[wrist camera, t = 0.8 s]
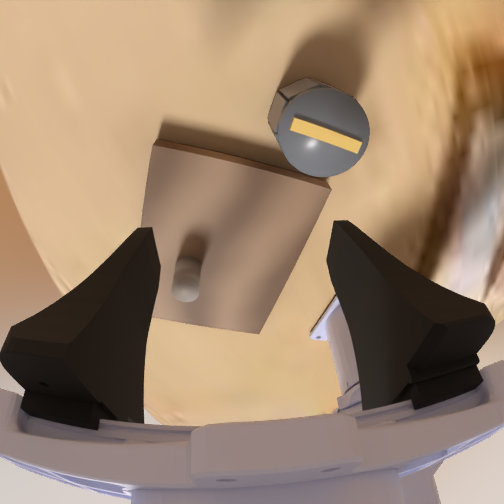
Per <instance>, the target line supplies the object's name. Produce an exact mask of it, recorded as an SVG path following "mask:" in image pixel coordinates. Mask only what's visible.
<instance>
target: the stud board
mask: <svg viewBox="0 0 504 504" xmlns="http://www.w3.org/2000/svg"><path fill="white" fill-rule="evenodd" d="M331 190H332V189H331V188H330V186H329V184H328V183H327V182H326V181H322V180H319V179H316V178H313V177H309V176H306V175H303V174H299V173H296V172H292V171H289V170H285V169H282V168H278V167H275V166H271V165H267V164H263V163H260V162H256V161H252V160H248V159H244V158H240V157H236V156H232V155H228V154H224V153H219V152H215V151H211V150H206V149H202V148H197V147H192V146H188V145H183V144H178V143H173V142H168V141H163V140H156V141H155V143H154V144H153V146H152V152H151V158H150V164H149V170H148V177H147V183H146V190H145V198H144V205H143V213H142V222H141V228H142V227H152V228H153V233H154V238H155V242H156V247H157V251H158V256H159V260H160V264H161V272H160V281H159V289H158V293H157V297H156V301H155V306H154V310H153V314H152V317H153V318H159V319H164V320H169V321H175V322H181V323H186V324H192V325H198V326H205V327H211V328H218V329H224V330H231V331H239V332H246V333H254V334H259V333H260V331H261V330H262V328H263V326H264V324H265V322H266V320H267V318H268V316H269V315H270V313H271V311H272V309H273V307H274V305H275V303H276V301H277V299H278V297H279V295H280V293H281V292H282V290H283V288H284V286H285V284H286V282H287V280H288V278H289V276H290V274H291V272H292V270H293V268H294V266H295V264H296V262H297V260H298V258H299V256H300V254H301V252H302V250H303V248H304V246H305V244H306V242H307V240H308V238H309V236H310V234H311V232H312V230H313V228H314V226H315V224H316V221H317V219H318V217H319V215H320V213H321V211H322V209H323V207H324V205H325V203H326V201H327V198H328V196H329V194H330V192H331Z"/></svg>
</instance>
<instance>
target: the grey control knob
mask: <svg viewBox="0 0 504 504" xmlns="http://www.w3.org/2000/svg"><path fill="white" fill-rule="evenodd" d="M279 91H280V93H278V92H276V95H275V98H274V101H273V104H272V107H271V109H270V112H269V115H268V120H269V121H268V123H269V125H270V127H271V129H272V132H273V134H274V136H275V138H276V139H277V141H278V143H279V145H280V147H281V149H282V151H283V153H284V155H285V157H286V158H287V160H288V162H289V163H291V165H293V166H294V167H295V168H296V169H298V170H299V171H301V172H303V173H305V174H308V175H311V176H315V177H330V176H335V175H338V174H341V173H343V172H345V171H347V170H348V169H350V168H351V167H353V166H354V165H355V164H356V163H357V162H358V161H359V160H360V158H361V157H362V155H363V154H364V152H365V150H366V148H367V145H368V141H369V135H370V128H369V122H368V118H367V116H366V114H365V112H364V110H363V108H362V107H361V106H360V104H359V103H358V102H357V101H356V99H354V98H353V96H351V95H349V94H347V93H345V92H343V91H341V90H339V89H337V88H334V87H332V86H329V85H327V84H324V83H322V82H319V81H317V80H314V79H311V78H308V79H307V78H304V79H301V80H299V81H297V82H294V83H292V84H290V85H288V86H285V87H283V88H281V89H279Z"/></svg>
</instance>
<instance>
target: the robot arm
mask: <svg viewBox="0 0 504 504" xmlns="http://www.w3.org/2000/svg"><path fill="white" fill-rule="evenodd" d="M326 261H327V265H328V269H329V274H330V278H331V282H332V284H333V287H334V290H335V292H336V297H335V298H334V300H333V301H332V303H331V304H330V306H329V307H328V309H327V310H326V311H325V313H324V314H323V316H322V317H321V319H320V320H319V322H318V323H317V325H316V326H315V327H314V329H313V330H312V332H311V333H310V335H309V336H310V339H312V340H323V341H328V343H329V346H330V350H331V354H332V358H333V362H334V365H335V369H336V373H337V377H338V381H339V385H340V389H341V393H342V396H340V397H338V398H337V401H338V405H339V408H336V409H334V410H333V412H332V414H322V415H315V416H308V417H299V418H290V419H280V420H268V421H254V422H232V423H219V424H209V425H205V426H168V425H152V424H144V367H145V354H146V343H147V337H148V331H149V327H150V323H151V318H152V314H153V310H154V306H155V301H156V297H157V293H158V289H159V281H160V272H161V264H160V260H159V256H158V251H157V247H156V242H155V238H154V233H153V228H152V227H142V228H137V229H136V230H135V231H134V232H133V233H132V234H131V235H130V236H129V237H128V238H127V239H126V240H125V241H124V242H123V243H122V244H121V245H120V246H119V247H118V248H117V249H116V250H115V252H114V253H113V254H112V255H111V256H110V257H109V258H108V259H107V260H106V261H105V262H104V263H102V264H101V265H100V266H99V267H98V268H97V269H96V270H95V271H94V272H93V273H92V274H91V275H90V276H89V277H88V278H86V279H85V280H84V281H83V282H82V283H80V284H79V285H78V286H77V287H75V288H74V289H73V290H72V291H70V292H69V293H67V294H66V295H65V296H63V297H62V298H60V299H59V300H58V301H56V302H55V303H53V304H52V305H50V306H49V307H47V308H45V309H44V310H42V311H40V312H39V313H37V314H35V315H34V316H31V317H30V318H28V319H26V320H24V321H22V322H20V323H18V324H16V325H14V326H12V327H11V328H10V331H9V333H8V335H7V337H6V340H5V342H4V344H3V347H2V349H1V352H0V361H1V363H2V365H3V367H4V368H5V369H6V371H7V372H8V373H9V374H10V375H11V376H12V377H13V378H14V379H15V380H16V381H17V382H18V383H19V384H20V385H21V386H22V387H23V388H24V389H25V393H24V396H23V397H22V396H21V395H19V394H17V393H14V392H10V391H7V390H4V389H0V457H2V458H4V459H5V460H7V461H9V462H11V463H13V464H15V465H16V466H18V467H20V468H23V469H26V470H28V471H31V472H34V473H36V474H39V475H42V476H45V477H47V478H50V479H53V480H56V481H59V482H62V483H65V484H69V485H72V486H75V487H79V488H82V489H86V490H90V491H93V492H97V493H102V494H106V495H110V496H115V497H120V498H125V499H130V500H131V504H441V503H440V499H439V495H438V491H437V487H436V483H435V480H434V476H433V475H434V473H435V472H436V471H437V469H438V468H439V467H440V465H441V464H442V462H443V461H444V460H445V459H447V458H449V457H451V456H453V455H456V454H457V453H460V452H461V451H464V450H466V449H468V448H470V447H472V446H474V445H475V444H478V443H479V442H481V441H483V440H485V439H487V438H489V437H490V436H491V435H493V434H495V433H496V432H497V431H499V430H500V429H502V428H503V427H504V361H503V360H501V361H498V362H496V363H494V364H491V365H488V366H486V367H484V368H483V369H481V370H480V371H479V370H478V368H477V364H478V363H479V358H478V356H477V352H478V351H479V350H480V349H481V348H482V346H483V345H484V344H485V342H486V341H487V340H488V339H489V337H490V336H491V334H492V332H493V330H494V327H495V320H494V318H493V317H492V315H491V313H490V311H489V310H488V308H487V307H486V305H485V304H484V303H481V302H478V301H476V300H473V299H470V298H467V297H464V296H462V295H460V294H457V293H455V292H453V291H451V290H448V289H446V288H444V287H442V286H440V285H438V284H437V283H435V282H433V281H431V280H429V279H427V278H426V277H424V276H422V275H420V274H419V273H417V272H416V271H414V270H413V269H411V268H409V267H408V266H406V265H405V264H403V263H402V262H401V261H399V260H398V259H397V258H395V257H394V256H392V255H391V254H390V253H388V252H387V251H386V250H385V249H383V248H382V247H381V246H380V245H378V244H377V243H376V242H375V241H373V240H372V239H371V238H370V237H369V236H367V235H366V234H365V233H364V232H362V231H361V230H360V229H359V228H357V227H356V226H355V225H354V224H352V223H351V222H349V221H348V220H341V221H334V222H333V228H332V233H331V239H330V244H329V249H328V255H327V260H326Z"/></svg>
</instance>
